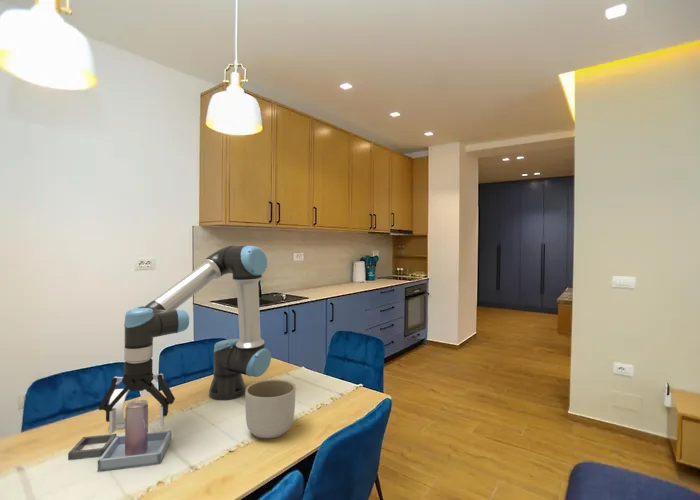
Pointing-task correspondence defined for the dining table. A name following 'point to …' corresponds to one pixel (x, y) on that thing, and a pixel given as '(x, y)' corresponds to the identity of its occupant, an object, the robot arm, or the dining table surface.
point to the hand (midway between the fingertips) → (137, 429)
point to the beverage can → (136, 427)
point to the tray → (119, 460)
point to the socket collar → (79, 454)
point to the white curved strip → (119, 408)
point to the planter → (270, 407)
